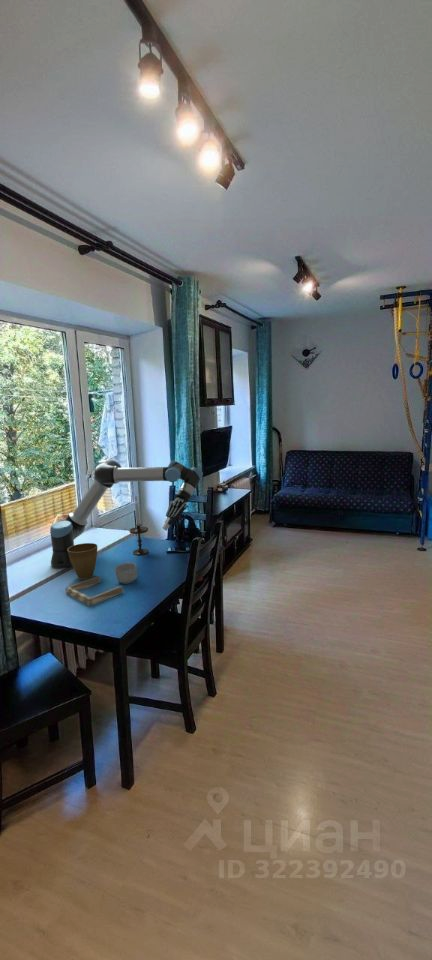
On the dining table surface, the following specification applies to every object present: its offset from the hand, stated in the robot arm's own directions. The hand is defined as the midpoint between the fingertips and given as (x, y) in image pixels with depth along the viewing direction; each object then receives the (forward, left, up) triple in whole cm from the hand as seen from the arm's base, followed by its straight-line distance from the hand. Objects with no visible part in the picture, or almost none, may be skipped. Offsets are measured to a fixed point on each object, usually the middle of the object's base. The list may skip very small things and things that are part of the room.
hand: (164, 529), depth 241 cm
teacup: (0, -25, -21) cm, 33 cm away
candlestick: (-28, +4, -21) cm, 35 cm away
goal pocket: (0, -44, -20) cm, 48 cm away
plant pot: (-22, -36, -21) cm, 47 cm away
